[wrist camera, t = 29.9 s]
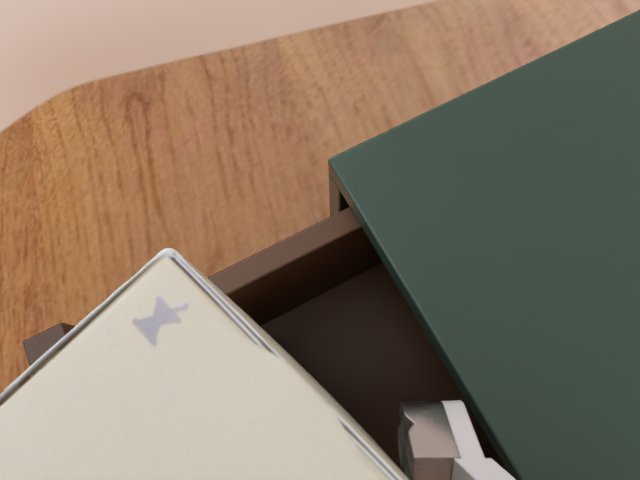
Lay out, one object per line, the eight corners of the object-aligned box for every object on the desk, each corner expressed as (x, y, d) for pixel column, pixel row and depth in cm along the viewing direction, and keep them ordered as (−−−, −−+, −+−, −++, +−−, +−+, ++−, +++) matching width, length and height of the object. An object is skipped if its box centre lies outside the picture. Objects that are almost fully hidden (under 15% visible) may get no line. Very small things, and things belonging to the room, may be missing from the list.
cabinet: (470, 503, 18) (600, 610, 9) (330, 253, 22) (327, 158, 13) (734, 339, 20) (1056, 297, 11) (563, 134, 24) (700, -20, 15)
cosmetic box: (189, 410, 17) (-98, 445, 6) (268, 329, 18) (155, 223, 7) (304, 542, 16) (224, 957, 4) (384, 447, 17) (497, 570, 5)
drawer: (115, 710, 16) (-75, 986, 9) (34, 412, 19) (-152, 425, 12) (531, 454, 18) (665, 497, 11) (391, 229, 22) (420, 145, 14)
